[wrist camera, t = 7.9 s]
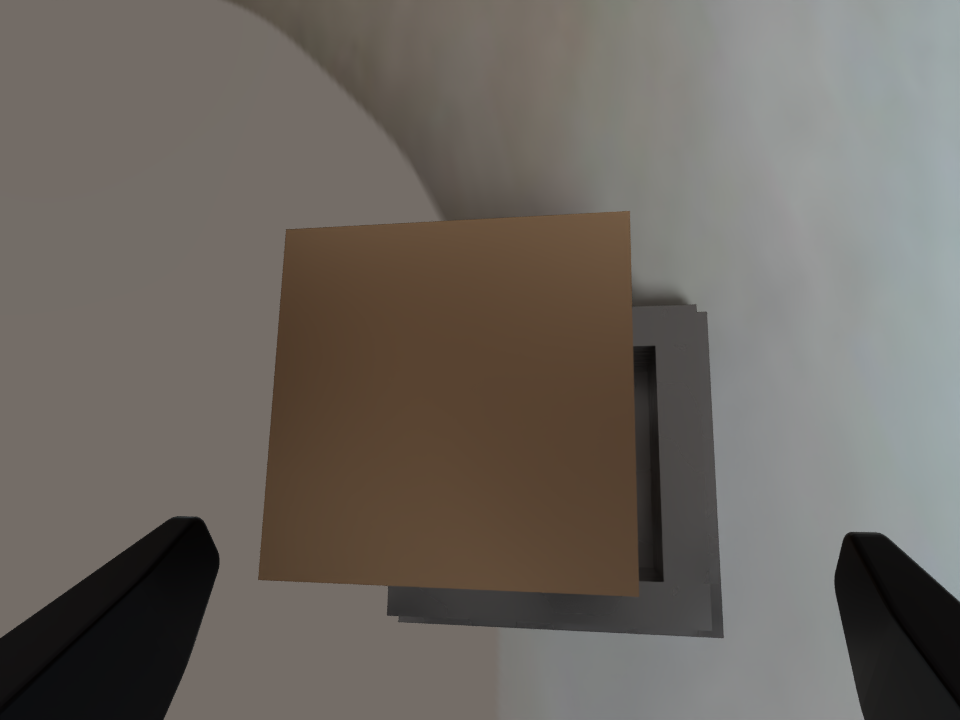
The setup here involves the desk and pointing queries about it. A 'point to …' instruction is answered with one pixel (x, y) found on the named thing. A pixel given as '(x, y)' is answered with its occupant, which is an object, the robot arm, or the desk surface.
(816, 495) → the desk surface
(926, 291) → the desk surface
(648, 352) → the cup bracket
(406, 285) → the block
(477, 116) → the desk surface
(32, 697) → the robot arm
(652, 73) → the desk surface
